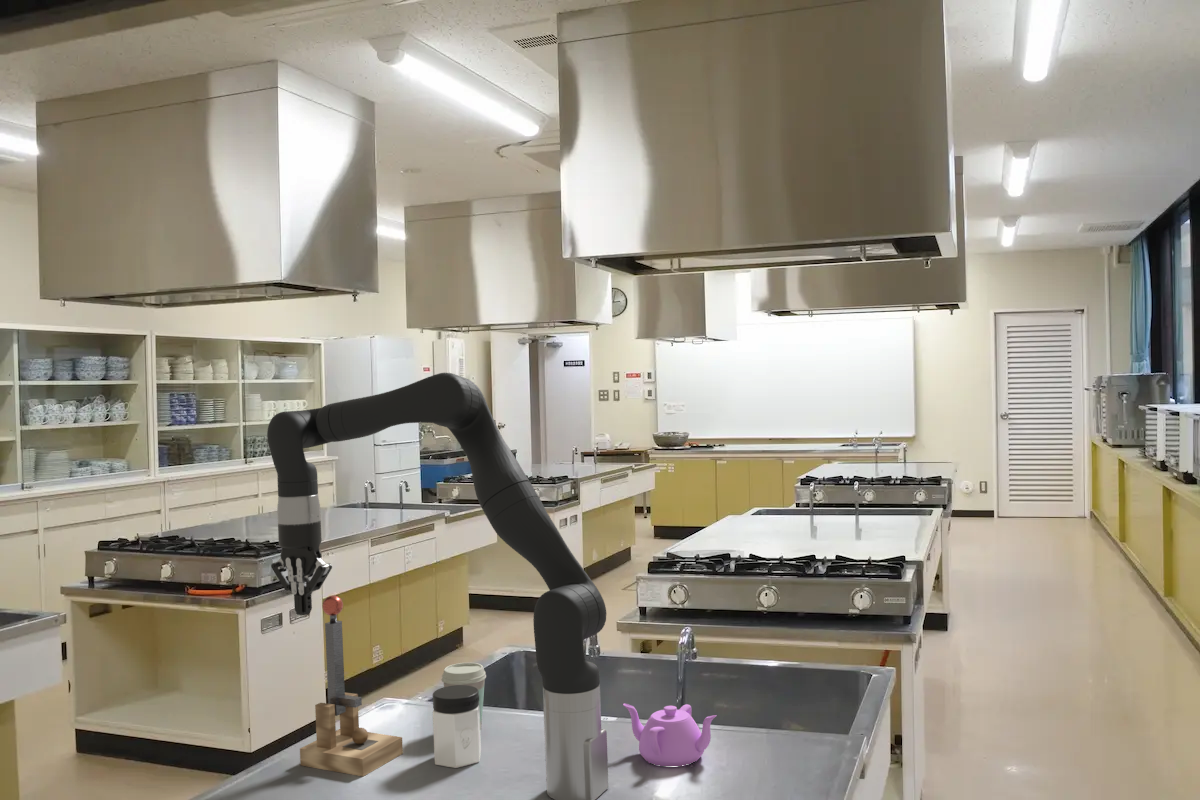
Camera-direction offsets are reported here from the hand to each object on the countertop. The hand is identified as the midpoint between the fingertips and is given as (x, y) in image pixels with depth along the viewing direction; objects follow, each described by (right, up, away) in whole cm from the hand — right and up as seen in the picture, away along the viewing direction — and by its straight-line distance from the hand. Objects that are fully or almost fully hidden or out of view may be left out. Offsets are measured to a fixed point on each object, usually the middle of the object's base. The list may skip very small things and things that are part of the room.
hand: (303, 614), depth 180 cm
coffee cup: (+29, -25, +9) cm, 39 cm away
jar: (+29, -25, -5) cm, 39 cm away
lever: (+8, -17, -3) cm, 19 cm away
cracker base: (+10, -25, -4) cm, 27 cm away
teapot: (+67, -23, -8) cm, 71 cm away
